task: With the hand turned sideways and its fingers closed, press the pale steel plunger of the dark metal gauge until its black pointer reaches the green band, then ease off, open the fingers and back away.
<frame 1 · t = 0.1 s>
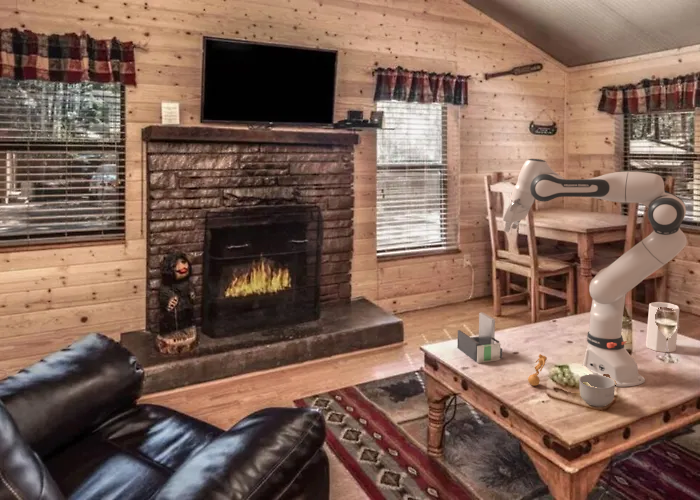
hand: (510, 230, 211), 52 cm above the table, tool tilted 20°, fingers open, 8 cm apart
cup: (660, 348, 220), on the table
teacup: (596, 400, 176), on the table
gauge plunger: (489, 333, 216), point 9 cm above the table, slide at 0.0 cm
gauge housing: (479, 352, 219), on the table
figurine: (536, 385, 188), on the table
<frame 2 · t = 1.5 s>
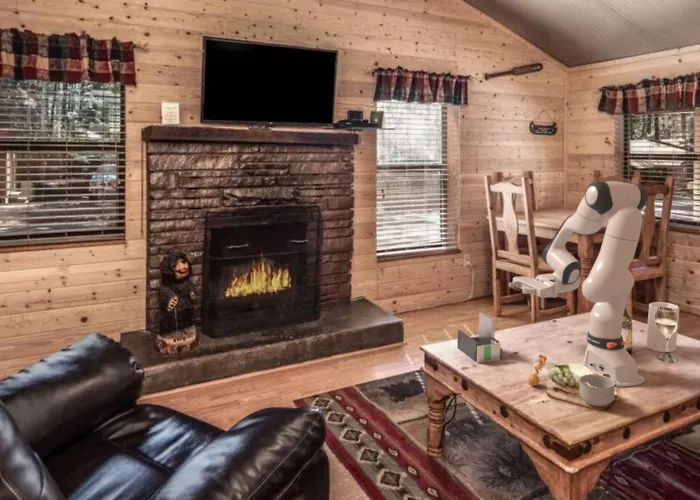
hand: (516, 288, 218), 27 cm above the table, tool horizontal, fingers open, 8 cm apart
nothing on the table moved.
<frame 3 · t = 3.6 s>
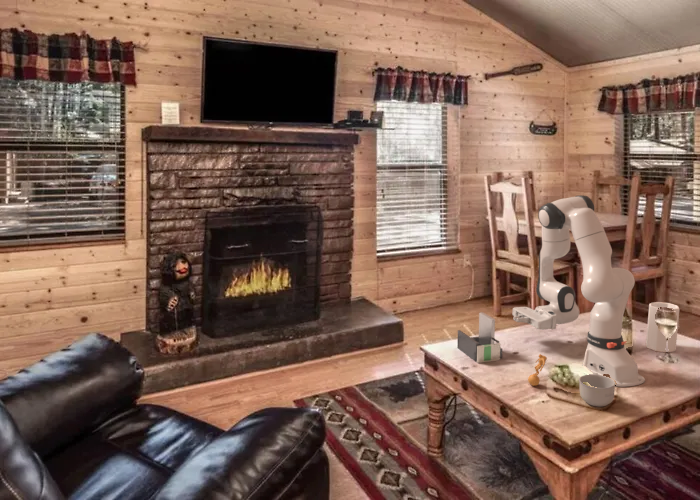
hand: (515, 319, 221), 13 cm above the table, tool horizontal, fingers closed
nothing on the table moved.
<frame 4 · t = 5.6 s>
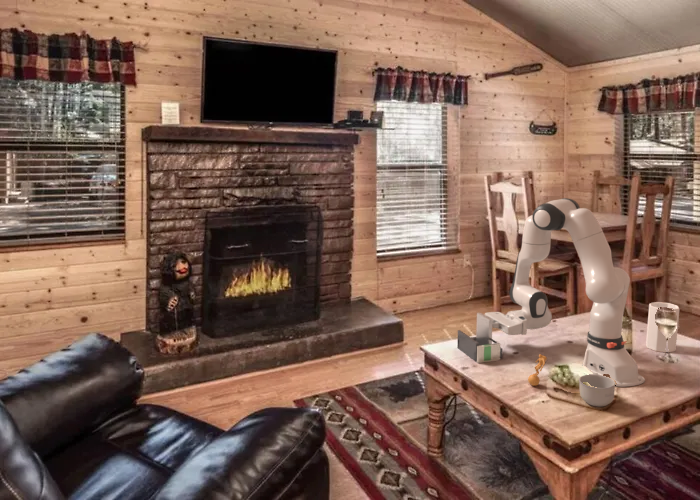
hand: (485, 324, 218), 12 cm above the table, tool horizontal, fingers closed, pressing on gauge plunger
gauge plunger: (486, 333, 216), point 9 cm above the table, slide at 1.2 cm, touching gripper
everything else where it was.
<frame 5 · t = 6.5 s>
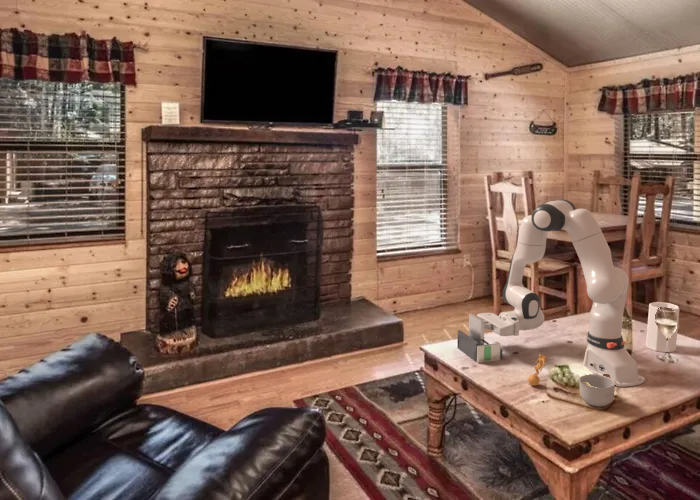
hand: (477, 325, 217), 12 cm above the table, tool horizontal, fingers closed, pressing on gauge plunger
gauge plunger: (478, 334, 215), point 9 cm above the table, slide at 4.9 cm, touching gripper
everything else where it was.
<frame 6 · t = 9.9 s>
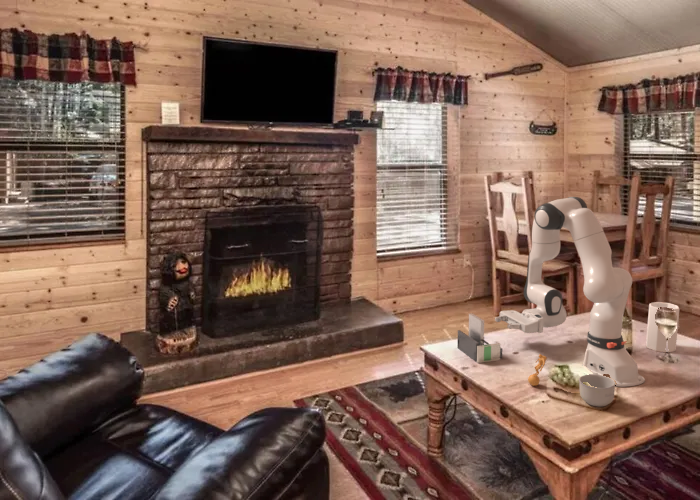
hand: (502, 323, 219), 12 cm above the table, tool horizontal, fingers open, 8 cm apart
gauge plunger: (478, 334, 215), point 9 cm above the table, slide at 4.9 cm
everything else where it was.
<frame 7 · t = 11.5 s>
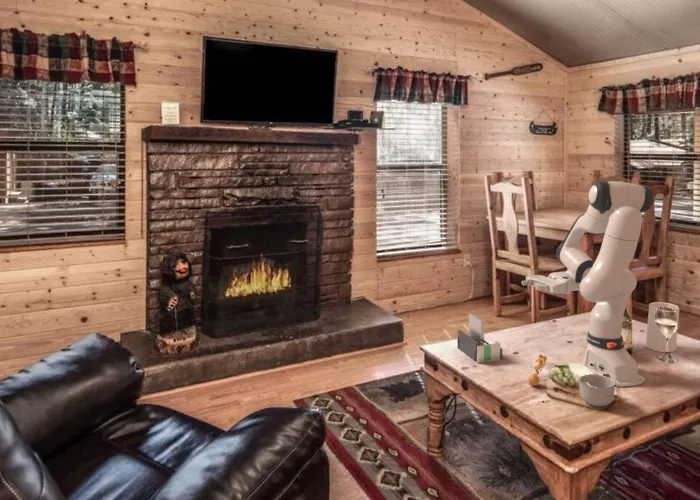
hand: (529, 285, 220), 27 cm above the table, tool horizontal, fingers open, 8 cm apart
nothing on the table moved.
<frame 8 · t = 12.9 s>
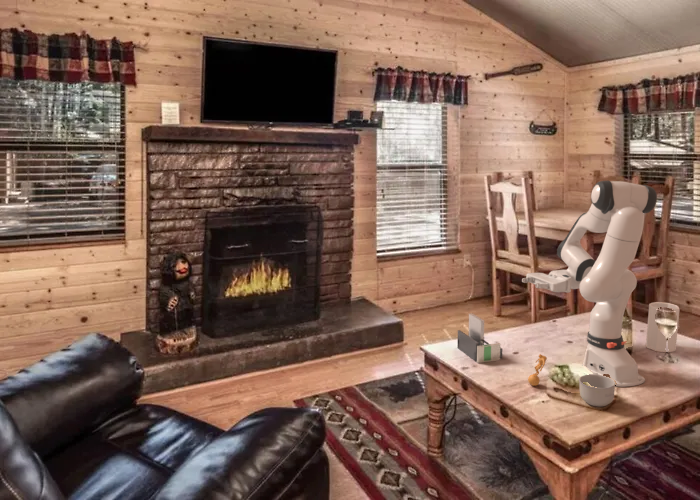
hand: (529, 283, 220), 28 cm above the table, tool horizontal, fingers open, 8 cm apart
nothing on the table moved.
at the end: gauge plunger slide at 4.9 cm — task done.
